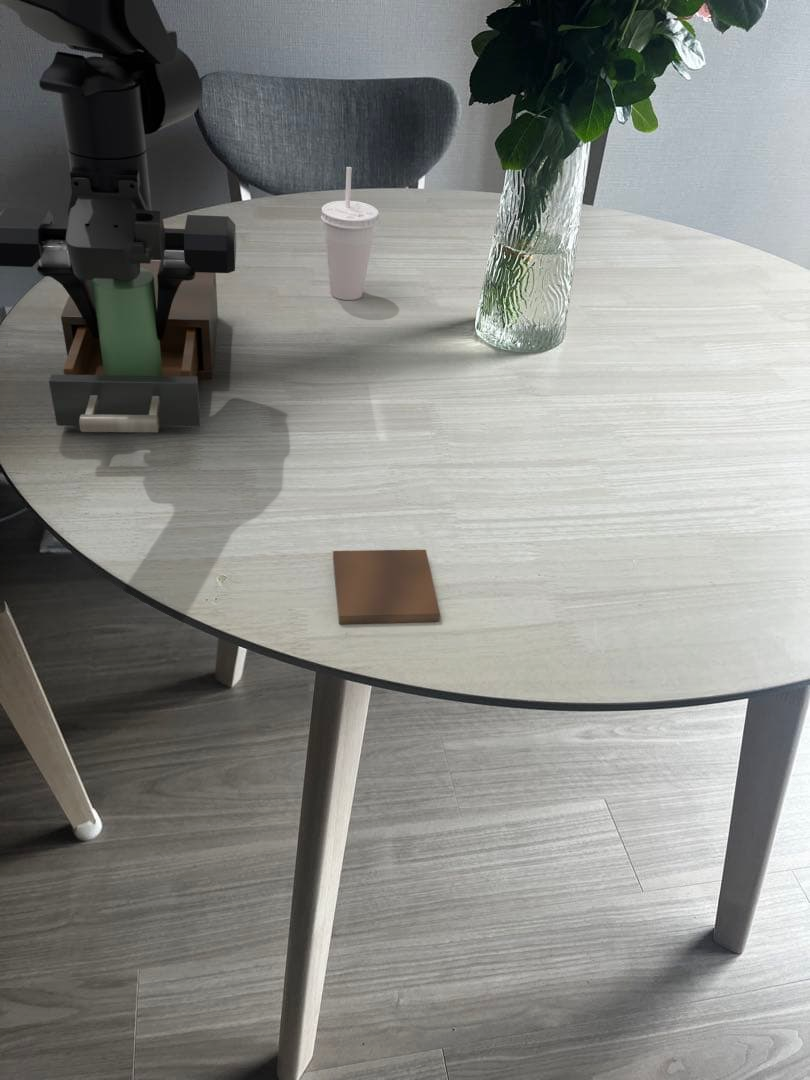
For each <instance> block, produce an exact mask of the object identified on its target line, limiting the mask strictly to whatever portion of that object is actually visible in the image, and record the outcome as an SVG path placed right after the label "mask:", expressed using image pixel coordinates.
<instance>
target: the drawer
mask: <svg viewBox="0 0 810 1080" xmlns="http://www.w3.org/2000/svg"><path fill="white" fill-rule="evenodd" d="M160 349H161V360H162V371H163V376H129V375H104V368H103V361H102V354H101V347H100V339H95V338H94V337H93V335H92V333H91V332H90V330H89V328H88V326H87V325H79V326H78V329H77V332H76V335H75V337H74V340H73V343H72V346H71V349H70V351H69V354H68V357H66V360H65V363H64V366H63V368H62V371H63V374H61V373H60V374H54V373H53V374H50V377H49V379H48V384H49V389H50V390H49V391H50V395H51V401H52V406H53V413H54V417H55V423H56V426H59V427H61V426H63V427H66V426H69V427H71V426H73V427H74V426H75V427H76V426H77V427H78V426H79V430H80V432H81V433H159V430H160V427H200V426H201V407H200V392H199V378H198V377H197V370H198V362H199V345H198V330H197V327H166V329H165V333H164V337H163V340H160Z"/></svg>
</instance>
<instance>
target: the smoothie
mask: <svg viewBox="0 0 810 1080" xmlns="http://www.w3.org/2000/svg"><path fill="white" fill-rule="evenodd" d="M352 168H353V167H351V166H346V171H345V193H344V194H345V195H344V200H335V201H329V202H327V203H325V204H323V205H322V207H321V215H320V218H321V220H322V221H323V225H324V236H325V244H326V256H327V267H328V277H329V288H330V289H329V290H330V295H331V296H332V297H333V298H336V299H339V300H341V301H342V300H344V301H354V300H359V299H360V298H361V297H362V296H363V293H364V288H365V283H366V282H365V281H366V276H367V272H368V265H369V260H370V255H371V251H372V250H371V249H372V244H373V239H374V234H375V229H376V228H375V227H376V225H378V223H379V222H380V221H379V213H380V212H379V210H378V209H377V208H376V207H374V206H373V205H371V204H369V203H365V202H361V201H356V200H351V190H352V171H353V170H352Z"/></svg>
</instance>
